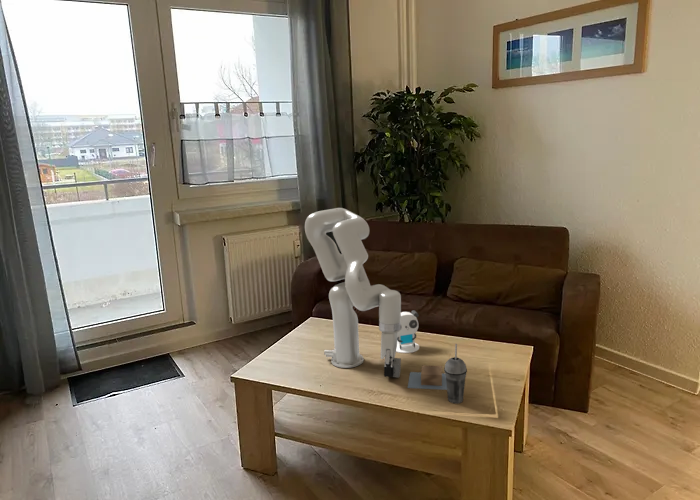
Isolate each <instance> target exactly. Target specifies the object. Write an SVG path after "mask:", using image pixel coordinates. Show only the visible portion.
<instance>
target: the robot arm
mask: <svg viewBox="0 0 700 500" xmlns="http://www.w3.org/2000/svg"><path fill="white" fill-rule="evenodd" d="M304 231H305V237H306V239H307V240H308V243H310V245H311V246H312V248H313V251H314V253H315V256H316V258H317V260H318V263H319V266H320V268H321V270H322V273H323V275H324V278H325V279H326V280H327V281H328V282H338V281H341V280H344V282H343V281H342V282H340V283H338V284H335V285H334V286H333V287H331V288H330V290H329V293H328V299H329V303H330V308H331V314H332V315H331V316H332V326H333V342H334V343H333V345H334V349H332V350H331V349H324V351H323V353H324V356H325V358H330V359H331V360H330V361H331V364H332V365H333V366H335V367H337V368H342V369H352V368H355V367H358V366H360V365H362V364H363V363H364V360H365V359H364V356H363V354H361V353H360V339H359V336H360V335H359V319H358V314H357V313H356V311H355V310H354V308H356V309H357V310H358V311H361V312H366V311H369V310H371V309H374V308H377V307H378V330H379V331H380V332H381V336H380V337H381V339H380V359H381V360H384V365H383V373H384V374H383V375H384V377H385V378H387V377H388V378H394V377H393V359H394V358H396V354H397V352H396V349H397V332H399V331H400V330H401V312H402V295H401V293H400V291H398V290H395V289H390V288H389V287H387V286H385V285H384V284H379V283H378V284H373V285H371V283H370V280H369V278H368V276H367V273H366V270H365V268H364V263H366V262H367V261H368V259H369V253H368V252H367V249H366V248H365V245H364V243H363V241H362V240H366V239H367V238H368V237H369V235H370V226H369V224H368V222H367V221H366V220H365V219H364V218H363V217H362V216H360V215H358V214H356V213H355V212H352V211H350V210H348V209H346V208H343V207H335V208H330V209H324V210H323V209H322V210H319V211H315V212H312V213H310V214H309V215H308V216H307V217H306V219H305V222H304ZM330 232H331V233H332V236H333V238H334V239H335V241H334V239H332V237H330V236H329V235H328V234H327V233H330ZM335 242H336V243H335ZM340 252H341V253H340ZM353 307H354V308H353ZM390 360H391V362H390Z"/></svg>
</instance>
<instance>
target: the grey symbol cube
mask: <svg viewBox="0 0 700 500" xmlns="http://www.w3.org/2000/svg"><path fill="white" fill-rule="evenodd" d="M401 359H402V358H401V357H395V358H394V359H393V377H392V378H399V379H400V375H401V370H402V369H401V368H402V365H401V364H402V362H401V361H402V360H401ZM390 362H391V360H390Z"/></svg>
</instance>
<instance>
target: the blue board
mask: <svg viewBox="0 0 700 500" xmlns="http://www.w3.org/2000/svg"><path fill="white" fill-rule="evenodd" d="M407 388H408V389H421V390H422V389H424V390H425V389H426V390H443V391H444V390H446V391H447V384H446V376H445V372H444V373H443V372H442V386H433V385H421V371H420V372H416V371H410V372H409V377H408V383H407Z"/></svg>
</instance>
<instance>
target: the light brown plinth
mask: <svg viewBox="0 0 700 500" xmlns="http://www.w3.org/2000/svg"><path fill="white" fill-rule="evenodd" d="M420 372H421V385H433V386H442V373H443V366H442V365H425V364H424V365H421V371H420Z"/></svg>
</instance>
